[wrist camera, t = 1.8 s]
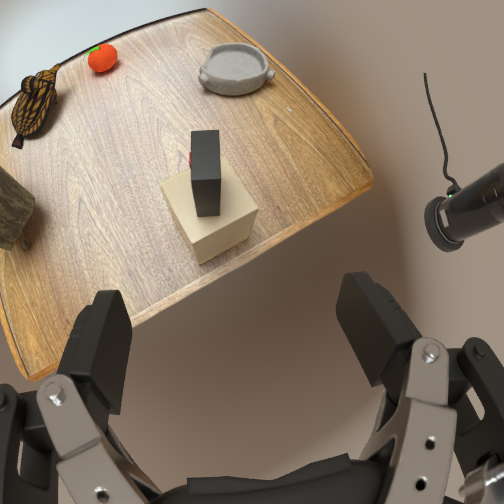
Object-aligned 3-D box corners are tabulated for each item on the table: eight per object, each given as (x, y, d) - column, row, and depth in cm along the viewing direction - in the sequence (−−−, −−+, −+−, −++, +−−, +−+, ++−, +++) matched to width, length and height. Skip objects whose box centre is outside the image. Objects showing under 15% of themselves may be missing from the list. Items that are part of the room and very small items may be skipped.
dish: (199, 100, 45) (198, 81, 41) (198, 59, 49) (198, 42, 44) (275, 98, 48) (280, 80, 43) (264, 58, 51) (268, 42, 46)
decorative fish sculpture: (67, 125, 41) (45, 88, 30) (9, 154, 39) (-18, 126, 27) (73, 84, 44) (58, 49, 33) (20, 111, 41) (0, 82, 30)
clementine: (86, 83, 45) (77, 61, 38) (89, 66, 46) (82, 46, 39) (119, 72, 46) (112, 48, 39) (120, 56, 47) (115, 34, 41)
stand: (220, 193, 41) (222, 153, 31) (248, 238, 40) (259, 208, 30) (173, 218, 40) (159, 183, 29) (198, 265, 38) (191, 244, 28)
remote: (217, 174, 30) (219, 129, 22) (220, 215, 29) (221, 178, 21) (194, 175, 30) (189, 131, 22) (195, 217, 28) (188, 180, 21)
